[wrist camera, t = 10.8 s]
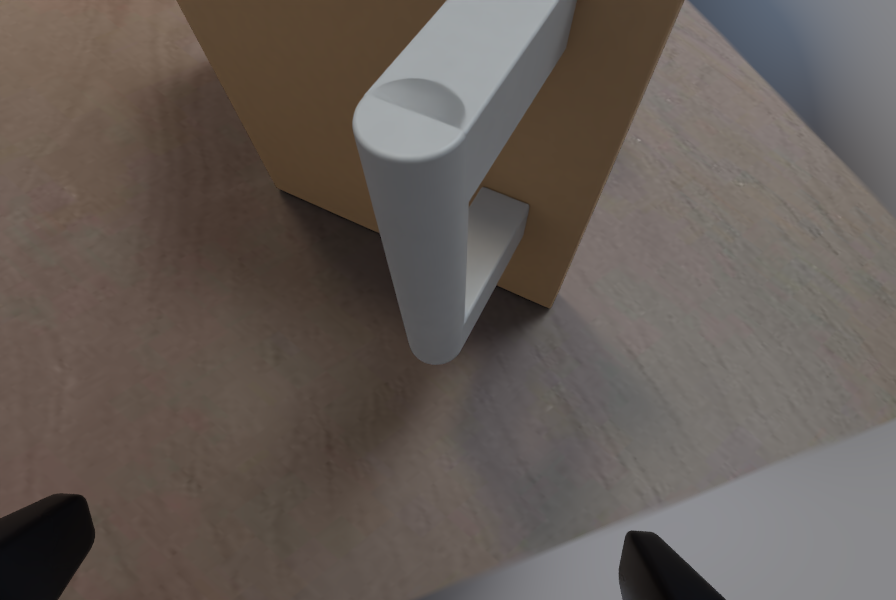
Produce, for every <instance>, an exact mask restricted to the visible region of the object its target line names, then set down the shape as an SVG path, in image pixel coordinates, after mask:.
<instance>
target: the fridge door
mask: <svg viewBox="0 0 896 600" xmlns="http://www.w3.org/2000/svg"><path fill="white" fill-rule="evenodd" d="M177 2H178V4H179V6H180V8H181V10H182V12H183V14H184V15H185V17H186V19H187V21H188V23H189V25H190V27H191V29H192V30H193V32H194V34H195V36H196V38H197V40H198V42H199V44H200V45H201V47H202V49H203V51H204V53H205V55H206V57H207V59H208V60H209V62H210V64H211V66H212V68H213V70H214V72H215V74H216V75H217V77H218V79H219V81H220V83H221V85H222V87H223V89H224V90H225V92H226V94H227V96H228V98H229V100H230V102H231V104H232V105H233V107H234V109H235V111H236V113H237V115H238V117H239V119H240V120H241V122H242V124H243V126H244V128H245V130H246V132H247V134H248V135H249V137H250V139H251V141H252V143H253V145H254V147H255V149H256V150H257V152H258V154H259V156H260V158H261V160H262V162H263V164H264V165H265V167H266V169H267V171H268V173H269V175H270V177H271V179H272V180H273V182H274V184H275V186H276V188H278V189H280V190H283V191H285V192H287V193H290V194H292V195H294V196H296V197H299V198H301V199H303V200H305V201H308V202H310V203H312V204H314V205H317V206H319V207H321V208H323V209H326V210H328V211H330V212H332V213H335V214H337V215H339V216H341V217H344V218H346V219H348V220H350V221H353V222H355V223H357V224H359V225H362V226H364V227H366V228H368V229H371V230H373V231H375V232H378V233H380V236H381V240H382V243H383V247H384V251H385V255H386V259H387V262H388V266H389V270H390V274H391V278H392V281H393V285H394V289H395V293H396V297H397V300H398V304H399V308H400V312H401V315H402V319H403V323H404V327H405V331H406V334H407V338H408V342H409V346H410V349H411V351H412V352H413V354H414V355H415V356H416V357H417V358H418V359H419V360H421V361H422V362H425V363H428V364H432V365H439V364H444V363H447V362H449V361H451V360H453V359H454V358H455V357H456V356H457V355H458V354H459V353H460V351H461V349H462V347H463V345H464V344H465V342H466V340H467V338H468V336H469V334H470V333H471V331H472V329H473V327H474V325H475V323H476V322H477V320H478V318H479V316H480V314H481V312H482V311H483V309H484V307H485V305H486V303H487V301H488V300H489V298H490V296H491V294H492V292H493V290H494V289H495V287H496V285H497V286H499V287H502V288H504V289H506V290H508V291H511V292H513V293H515V294H517V295H520V296H522V297H524V298H526V299H529V300H531V301H533V302H535V303H538V304H540V305H542V306H545V307H547V308H549V309H550V308H551V307H552V305H553V303H554V301H555V298H556V296H557V294H558V292H559V290H560V288H561V285H562V283H563V281H564V278H565V276H566V274H567V271H568V269H569V267H570V264H571V262H572V260H573V258H574V255H575V253H576V251H577V248H578V246H579V244H580V241H581V239H582V237H583V234H584V232H585V230H586V227H587V225H588V223H589V220H590V218H591V216H592V213H593V211H594V209H595V207H596V204H597V202H598V200H599V197H600V195H601V193H602V190H603V188H604V186H605V183H606V181H607V179H608V176H609V174H610V172H611V169H612V167H613V165H614V163H615V160H616V158H617V156H618V153H619V151H620V149H621V146H622V144H623V142H624V139H625V137H626V135H627V132H628V130H629V128H630V125H631V123H632V121H633V118H634V116H635V114H636V112H637V109H638V107H639V105H640V102H641V100H642V98H643V95H644V93H645V91H646V88H647V86H648V84H649V81H650V79H651V77H652V74H653V72H654V70H655V67H656V65H657V63H658V61H659V58H660V56H661V54H662V51H663V49H664V47H665V44H666V42H667V40H668V37H669V35H670V33H671V30H672V28H673V26H674V23H675V21H676V19H677V17H678V14H679V12H680V10H681V7H682V5H683V3H684V0H177Z"/></svg>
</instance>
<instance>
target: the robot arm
mask: <svg viewBox="0 0 896 600" xmlns="http://www.w3.org/2000/svg"><path fill="white" fill-rule="evenodd" d="M94 539H95V529H94V525H93V522H92V518H91V514H90V511H89V507H88V504H87V501H86V499H85V498H84V497H83V496H82V495H78V494H63V493H60V494H54V495H51V496H48V497H46V498H44V499H42V500H40V501H38V502H35V503H33V504H31V505H29V506H27V507H24V508H22V509H20V510H18V511H16V512H13V513H11V514H9V515H7V516H5V517H2V518H0V600H58V599H59V597H60V596H61V594H62V592H63V591H64V589H65V588H66V586H67V585H68V583H69V582H70V580H71V579H72V577H73V575H74V574H75V572H76V571H77V569H78V568H79V566H80V565H81V563H82V562H83V560H84V559H85V557H86V555H87V554H88V552H89V551H90V549H91V547H92V545H93V543H94ZM619 584H620V589H621V594H622V599H623V600H726V599H725V598H724V597H722V595H721V594H719V593H718V592H717V591H716V590H715V589H714V588H713V587H712V586H711V585H710V584H709V583H708V582H707V581H706V580H705V579H704V578H703V577H701V576H700V575H699V574H698V573H697V572H696V571H695V570H694V569H693V568H692V567H691V566H690V565H689V564H688V563H687V562H685V561H684V560H683V559H682V558H681V557H680V556H679V555H678V554H677V553H676V552H675V551H674V550H673V549H672V548H671V547H670V546H668V544H666V543H665V542H664V541H663V540H662V539H661V538H660V537H659V536H658V535H656V534H655V533H653V532H646V531H645V532H644V531H629V532H628V533H627V534H626V536H625V540H624V545H623V550H622V556H621V560H620V566H619Z"/></svg>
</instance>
